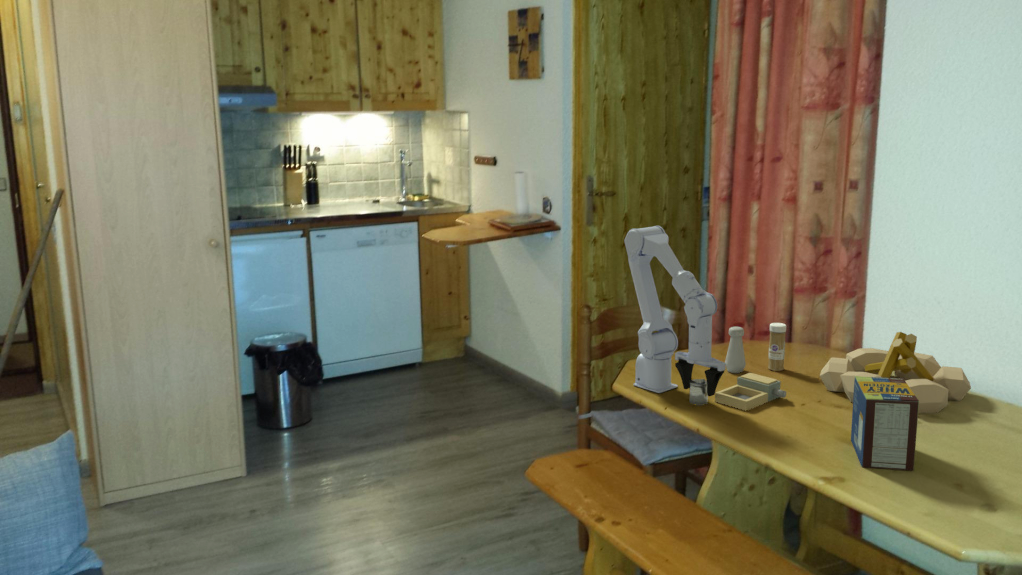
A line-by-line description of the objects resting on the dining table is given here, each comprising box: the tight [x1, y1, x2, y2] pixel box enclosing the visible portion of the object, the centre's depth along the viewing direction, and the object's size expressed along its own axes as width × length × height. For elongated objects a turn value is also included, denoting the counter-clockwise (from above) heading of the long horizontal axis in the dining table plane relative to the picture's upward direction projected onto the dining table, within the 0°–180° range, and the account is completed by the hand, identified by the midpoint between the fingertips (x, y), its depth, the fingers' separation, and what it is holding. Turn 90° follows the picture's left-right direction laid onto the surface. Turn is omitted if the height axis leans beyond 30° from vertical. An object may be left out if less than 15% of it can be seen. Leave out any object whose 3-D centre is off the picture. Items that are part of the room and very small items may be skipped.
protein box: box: [850, 376, 919, 471], centre depth 185 cm, size 10×15×16 cm
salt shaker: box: [724, 326, 747, 374], centre depth 245 cm, size 6×6×13 cm
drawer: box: [714, 372, 787, 412], centre depth 221 cm, size 12×15×5 cm
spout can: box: [688, 378, 709, 406], centre depth 221 cm, size 5×5×6 cm
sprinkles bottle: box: [767, 322, 787, 372], centre depth 246 cm, size 5×5×14 cm
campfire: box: [819, 331, 972, 414], centre depth 224 cm, size 35×34×17 cm
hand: (699, 391), depth 221 cm, fingers open, 7 cm apart
